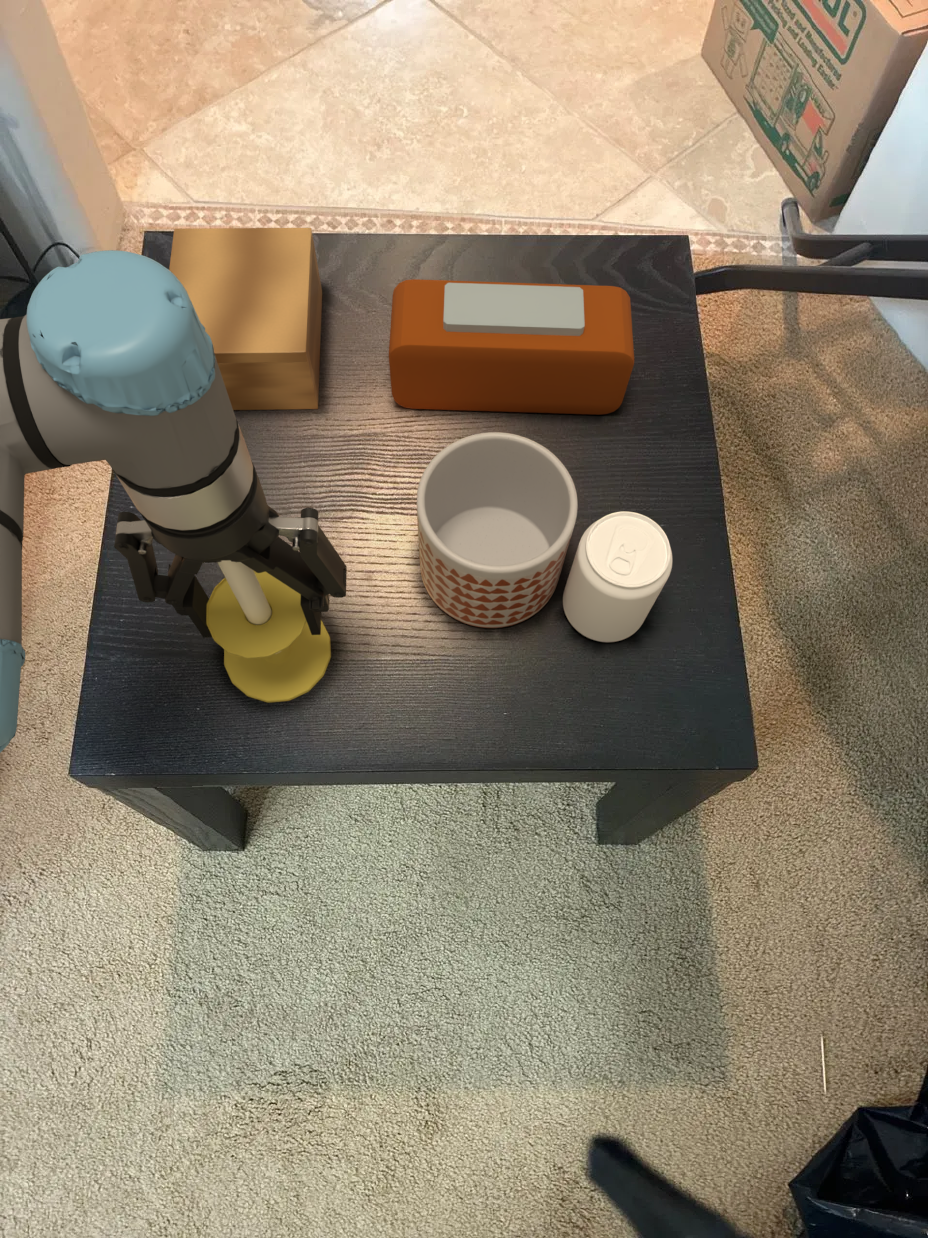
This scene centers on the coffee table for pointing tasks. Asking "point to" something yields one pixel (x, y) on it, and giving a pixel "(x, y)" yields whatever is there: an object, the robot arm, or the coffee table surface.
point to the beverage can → (616, 576)
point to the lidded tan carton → (257, 310)
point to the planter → (494, 528)
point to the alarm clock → (510, 346)
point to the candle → (265, 635)
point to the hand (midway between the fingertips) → (263, 621)
